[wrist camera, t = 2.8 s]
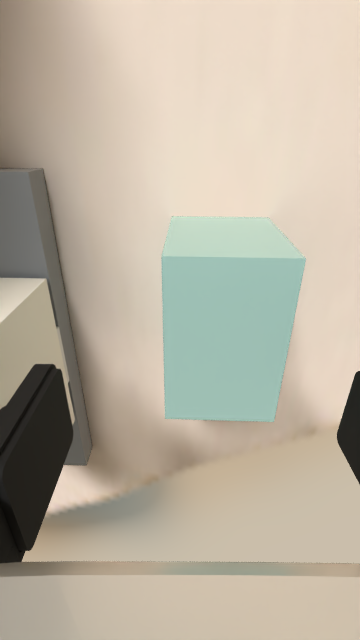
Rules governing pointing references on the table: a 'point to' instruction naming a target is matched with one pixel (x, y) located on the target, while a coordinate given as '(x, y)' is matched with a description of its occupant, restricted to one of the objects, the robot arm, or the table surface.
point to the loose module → (227, 316)
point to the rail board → (40, 263)
